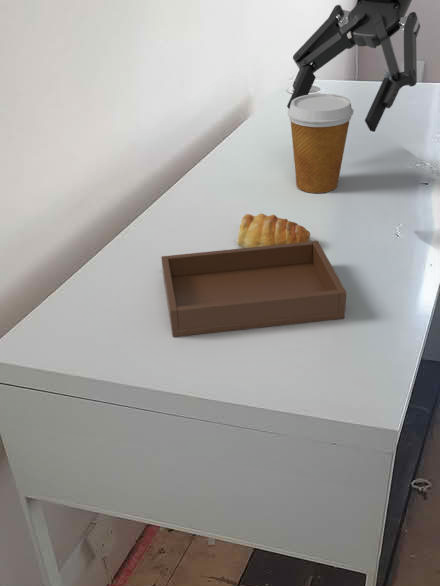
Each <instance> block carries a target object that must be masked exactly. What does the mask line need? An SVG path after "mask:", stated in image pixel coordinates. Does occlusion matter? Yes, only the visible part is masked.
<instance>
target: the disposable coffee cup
mask: <svg viewBox="0 0 440 586" xmlns="http://www.w3.org/2000/svg"><path fill="white" fill-rule="evenodd" d="M353 115H354V109H353V107H352V102H351V99H349V98H348V97H346V96H345V95H339V94H333V93H311V94H308V95H304V96H300V97H297V98H295V99H293V100H292V101H291V105H290V109H288V110H287V116H288V118H289V119H288V120H289V121H290V128H291V129H290V130H291V138H292V139H291V140H292V149H293V150H292V151H293V162H294V172H295V182H296V183H295V184H296V187H297V189H298V190H300V191H303V192H305V193H311V194H323V193H328V192H332V191H335V190H336V188H337V187H338V185H339V179H340V174H341V169H342V163H343V157H344V152H345V148H346V141H347V137H348V131H349V126H350V121H351V119H352V116H353Z"/></svg>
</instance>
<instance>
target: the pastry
mask: <svg viewBox="0 0 440 586" xmlns="http://www.w3.org/2000/svg"><path fill="white" fill-rule="evenodd" d="M310 238H311V231H309V230H308V229H307V228H305V227H304V226H303V225H301V224H298V223H297V222H295V221H290V220H288V219H287V218H281V217H278V216H277V215H276V214H271V215H266V214H265V213H259V214H257V215H252V214H250V213H249V214H248V213H245V214H244V216H243V217H242V218H241V222H240V225H239V230H238V235H237V241H236V245H237V246H238V247H240V249H241V248H251V247H261V246H271V245H281V244H291V243H301V242H310Z"/></svg>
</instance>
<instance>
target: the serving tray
mask: <svg viewBox="0 0 440 586" xmlns="http://www.w3.org/2000/svg"><path fill="white" fill-rule="evenodd" d="M160 258H161V266H162V276H163V278H162V279H163V284H164V290H165V297H166V304H167V311H168V316H169V323H170V330H171V335H172V337H173V338H176V337H186V336H194V335H195V336H196V335H204V334H213V333H214V334H215V333H221V332H223V333H224V332H229V331H230V332H231V331H241V330H249V329H260V328H267V327H268V328H269V327H278V326H279V327H280V326H288V325H296V324H307V323H314V322H323V321H332V320H333V321H334V320H342V319H343V320H344V319H345V317H346V316H345V315H346V313H345V312H346V303H347V291H346V289H345V287H344V286H343V284H342V282H341V280H340V278H339V277H338V275H337V273H336V271H335V269H334V268H333V265H332V263H331V262H330V260H329V258H328V256H327V254H326V253H325V251H324V249H323V247H322V246H321V244H320V242H319V241H318V240H313V241H309V242H301V243H291V244H281V245H271V246H261V247H251V248H241V247H240V248H231V249H222V250H212V251H203V252H202V251H201V252H192V253H181V254H171V255H162V256H160Z"/></svg>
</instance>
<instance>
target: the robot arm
mask: <svg viewBox="0 0 440 586" xmlns="http://www.w3.org/2000/svg"><path fill="white" fill-rule="evenodd" d="M412 1H413V0H356V4H355V5H354V7H353V8H352V9H351V10H350V11H349V10H347V9H343V8H342V6H341V4H335V6H334V7H333V9H332V11H331V12H330V14H329V16H328V18H327V19H326V20H325V21H324V22H323V23H322V24H321V25H320V26H319V27H318V29H316V31H315V32H314V33H313V34H312V35H311V36H310V37H309V38H308V39H306V41H305V42H304V43H303V45H301V46H300V48H299V49H298V50H297V51H295V53H294V54H293V55H292V60H293V62H294V64H296V67H297V68H298V72H297V75H296V77H295V78H294V81H293V83H292V88H293V92H292V94H291V96H290V98H289V101H288V103H287V105H286V107H287V109H288V110H289V109H290V105H291V101H292V100H293V99H295V98H297V97H300V96H304V95H309V93H310V91H311V89H312V87H313V85H314V82H315V80H316V78H317V77H316V75H315V74H314V73H316V72H317V71H318V70H319V69H321V68H322V67H324V66H326V64H328V63H329V62H330V61H332V60H333V59H335V58H336V57H338V55H340V54H342V53H343V52H344V51H345V50H350V49H352V48H354V47H355V46H357V47H369V48H371V49H376V48H377V47H379V46H381V49H382V52H383V56H384V59H385V62H386V63H385V64H386V66H387V69H388V72H389V76H390V78H389V77H384V78H383V79H382V82H381V84H380V86H379V88H378V90H377V92H376V95H375V97H374V99H373V101H372V104H371V105H370V107H369V110H368V112H367V115H366V117H365V118H364V123H365V124H366V126H367V128H368V130H369V131H370V132H376V130H377V128H378V126H379V123H380V121H381V119H382V117H383V115H384V113H385V110H386V109H390V108H392V107H393V105H394V102H395V100H396V98H397V96H398V94H399V92H400V90H401V89H402V88H403V87H405V86H408V87H415V86H416V84H417V83H418V76H417V75H418V71H417V69H418V68H417V63H418V62H417V38H418V36H419V35H418V34H419V32H420V29H421V24H420V21H419V18H418V15H417V12H416V11H412V12H410V13H408V15H407V16H406V14H407V12H408V11H409V7H410V5H411V3H412ZM400 30H401V31H402V33H403V71H401V70H400V68H399V64H398V61H397V57H396V54H395V51H394V47H393V44H392V39H391V37H392V36H394V35H395V34H396V33H398V32H399V31H400ZM349 33H350V36H351V37H349V36H348V34H349Z"/></svg>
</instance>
